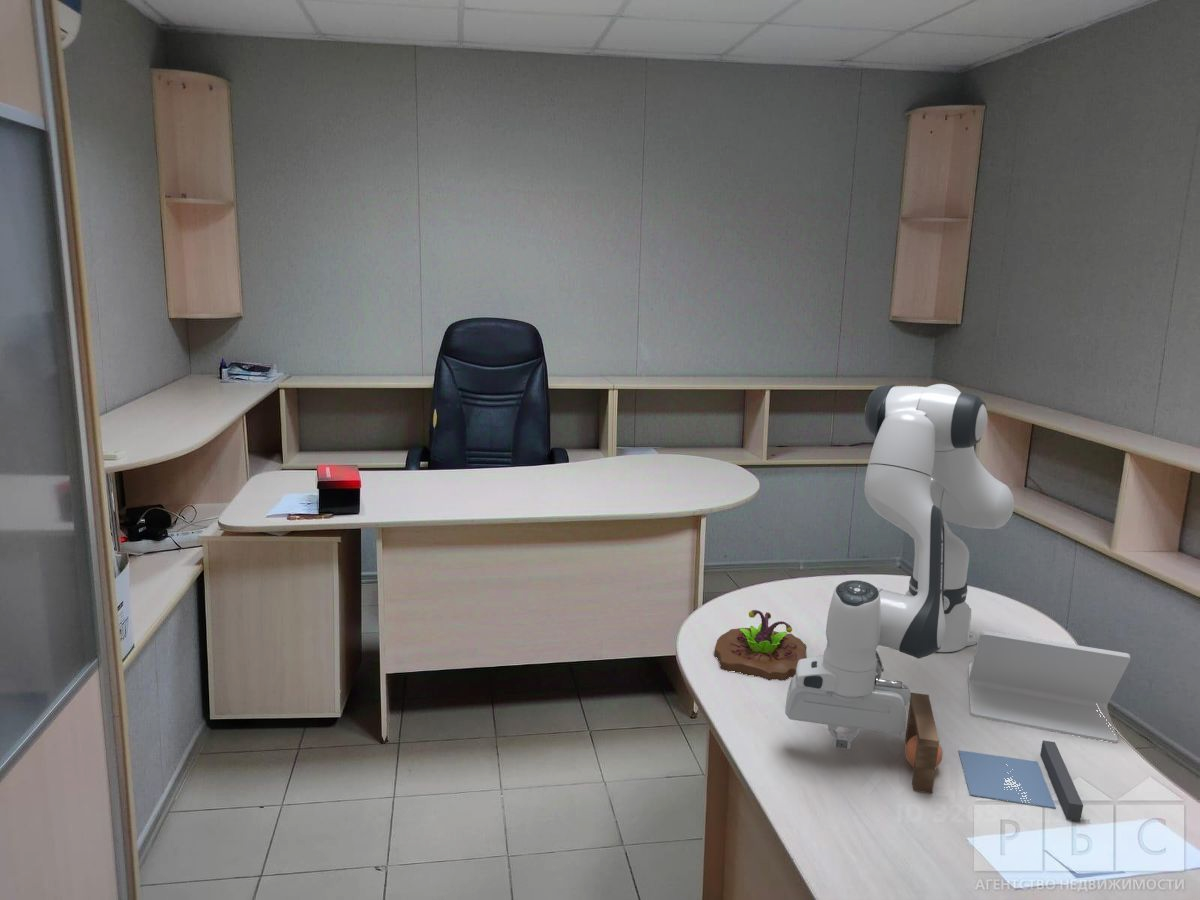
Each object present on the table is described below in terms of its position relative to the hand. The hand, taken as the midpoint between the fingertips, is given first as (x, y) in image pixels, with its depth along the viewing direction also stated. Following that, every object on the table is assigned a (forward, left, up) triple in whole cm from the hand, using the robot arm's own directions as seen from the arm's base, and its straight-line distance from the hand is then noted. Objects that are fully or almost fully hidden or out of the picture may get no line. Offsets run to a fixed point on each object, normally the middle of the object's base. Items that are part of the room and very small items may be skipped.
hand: (841, 746), depth 157 cm
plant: (-33, -16, -2) cm, 37 cm away
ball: (+1, +14, +1) cm, 14 cm away
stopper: (0, +36, -2) cm, 36 cm away
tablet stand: (-27, +38, -2) cm, 47 cm away
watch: (-21, +4, -2) cm, 21 cm away
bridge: (0, +13, -2) cm, 13 cm away
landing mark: (0, +27, -2) cm, 27 cm away
